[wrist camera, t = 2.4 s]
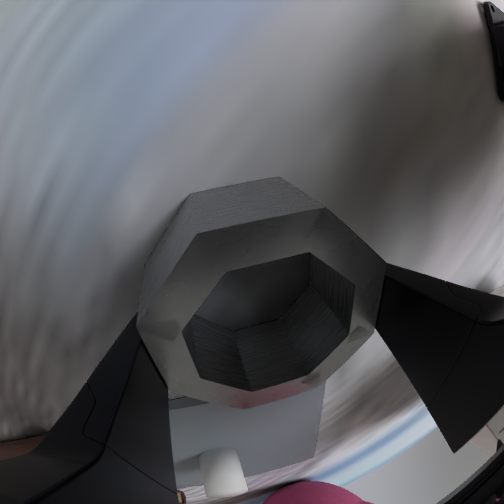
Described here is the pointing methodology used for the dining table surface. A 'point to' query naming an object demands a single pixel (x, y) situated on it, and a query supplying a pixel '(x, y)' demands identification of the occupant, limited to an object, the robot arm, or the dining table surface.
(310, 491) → the pink dragon fruit
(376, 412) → the dining table surface
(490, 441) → the geodesic sphere
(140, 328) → the ring
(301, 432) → the gray square plate
